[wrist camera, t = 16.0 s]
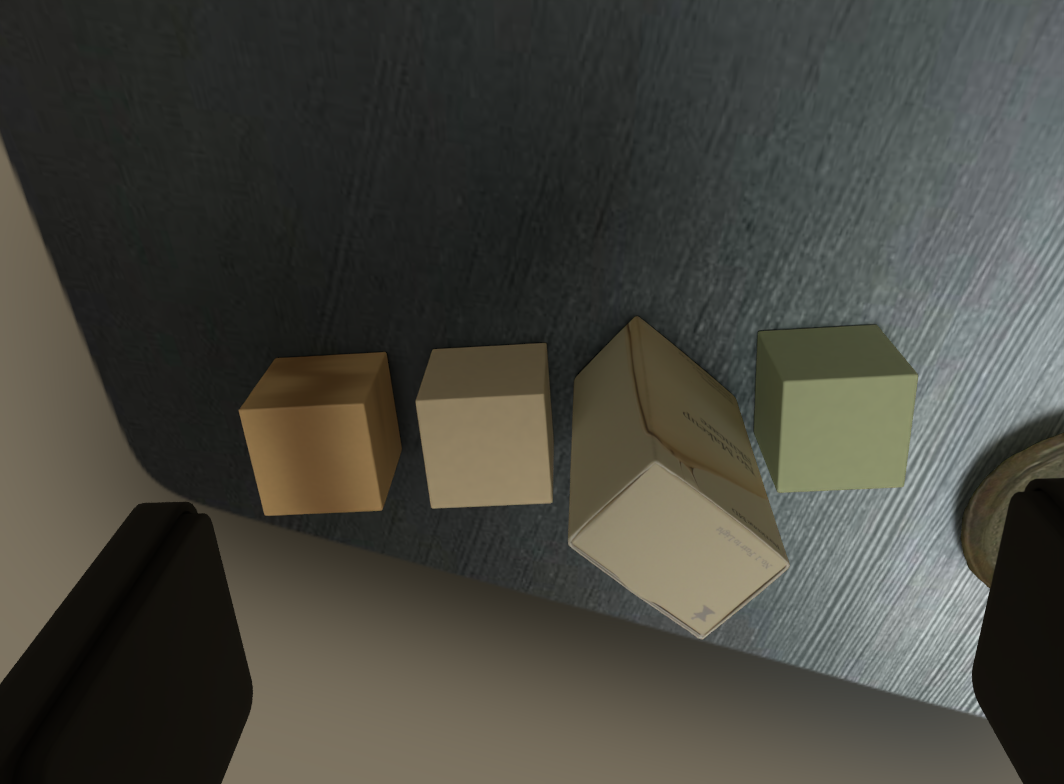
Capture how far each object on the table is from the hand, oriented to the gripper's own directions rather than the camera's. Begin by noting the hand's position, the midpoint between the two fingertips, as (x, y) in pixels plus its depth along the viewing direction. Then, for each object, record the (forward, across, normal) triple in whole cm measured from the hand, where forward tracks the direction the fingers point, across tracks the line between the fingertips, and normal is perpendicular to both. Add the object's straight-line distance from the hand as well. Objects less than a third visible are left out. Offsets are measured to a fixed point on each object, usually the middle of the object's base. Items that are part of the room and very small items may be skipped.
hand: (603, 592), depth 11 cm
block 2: (+27, +4, +11) cm, 29 cm away
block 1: (+27, +11, +11) cm, 31 cm away
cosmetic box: (+27, -3, +11) cm, 29 cm away
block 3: (+27, -10, +10) cm, 31 cm away
